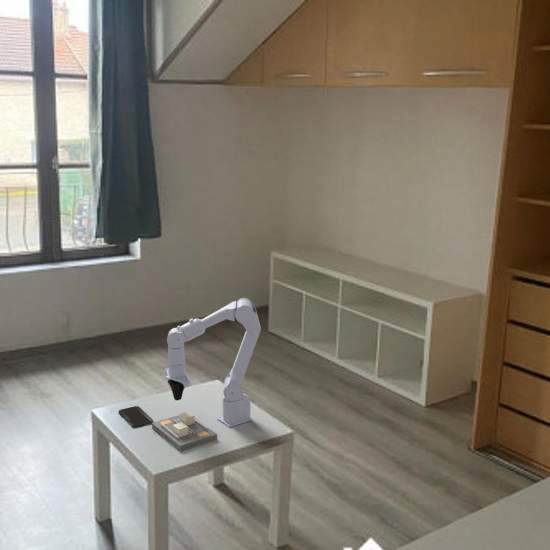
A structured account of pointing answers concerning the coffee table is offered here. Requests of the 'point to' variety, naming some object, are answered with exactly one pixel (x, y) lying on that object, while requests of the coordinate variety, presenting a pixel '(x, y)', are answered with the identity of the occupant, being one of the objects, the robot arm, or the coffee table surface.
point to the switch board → (195, 436)
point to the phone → (135, 416)
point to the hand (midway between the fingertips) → (177, 399)
